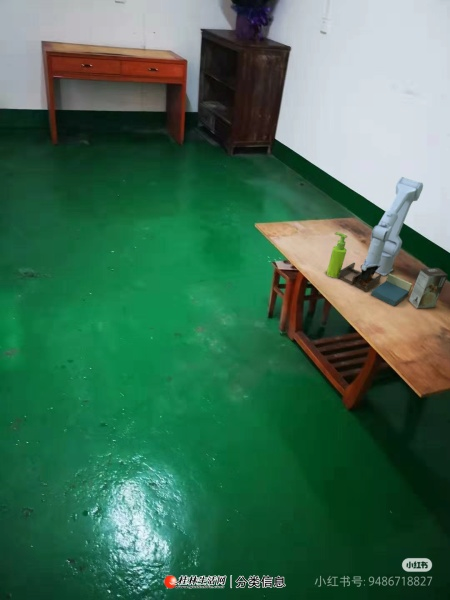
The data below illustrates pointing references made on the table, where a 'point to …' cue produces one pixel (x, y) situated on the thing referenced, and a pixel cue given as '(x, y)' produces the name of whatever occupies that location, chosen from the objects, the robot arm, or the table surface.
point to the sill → (392, 290)
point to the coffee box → (428, 287)
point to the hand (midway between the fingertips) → (366, 279)
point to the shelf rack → (357, 278)
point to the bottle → (367, 280)
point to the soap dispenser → (337, 257)
